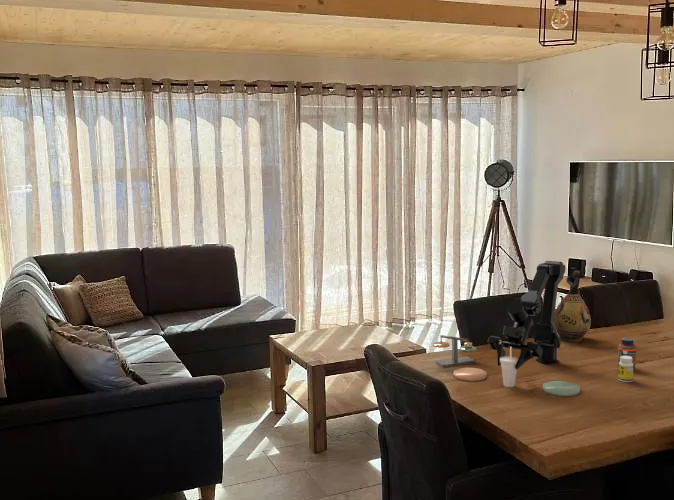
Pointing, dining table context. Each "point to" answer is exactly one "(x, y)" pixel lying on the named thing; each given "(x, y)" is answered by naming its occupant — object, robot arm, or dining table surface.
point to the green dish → (561, 388)
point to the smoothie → (509, 369)
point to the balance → (455, 352)
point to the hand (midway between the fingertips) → (507, 367)
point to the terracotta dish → (470, 374)
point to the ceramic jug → (572, 313)
